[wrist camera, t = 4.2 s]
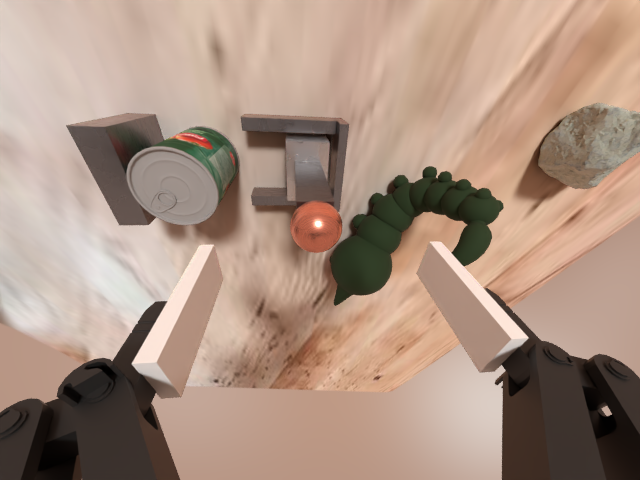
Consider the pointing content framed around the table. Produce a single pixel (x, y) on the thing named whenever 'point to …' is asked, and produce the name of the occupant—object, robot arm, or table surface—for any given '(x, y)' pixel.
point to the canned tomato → (184, 175)
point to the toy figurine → (397, 215)
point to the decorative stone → (590, 145)
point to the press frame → (143, 132)
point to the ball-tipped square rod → (311, 192)
